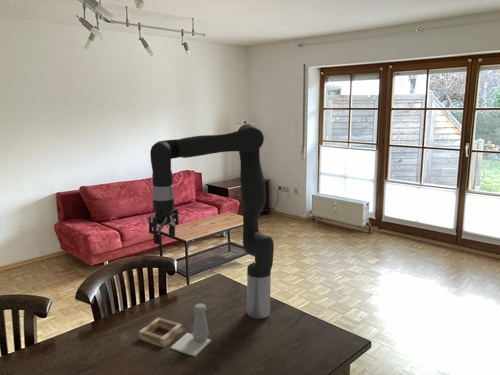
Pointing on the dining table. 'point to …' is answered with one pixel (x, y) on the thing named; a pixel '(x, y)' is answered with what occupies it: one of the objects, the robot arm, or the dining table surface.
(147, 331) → the oak collar
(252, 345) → the dining table surface
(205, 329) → the salt shaker
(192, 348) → the felt pad
